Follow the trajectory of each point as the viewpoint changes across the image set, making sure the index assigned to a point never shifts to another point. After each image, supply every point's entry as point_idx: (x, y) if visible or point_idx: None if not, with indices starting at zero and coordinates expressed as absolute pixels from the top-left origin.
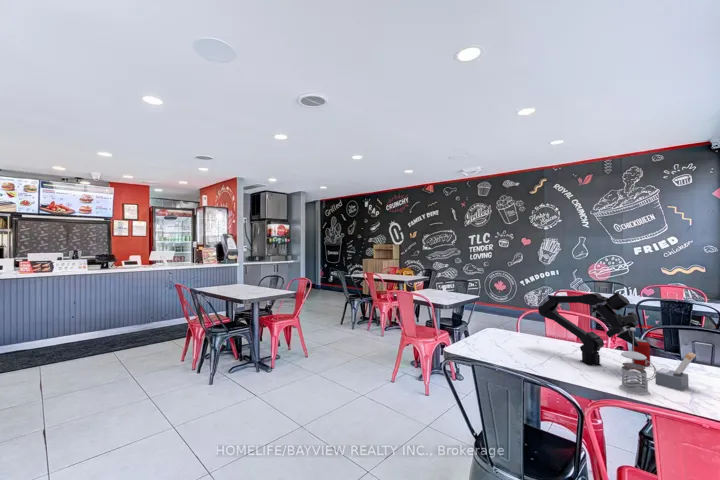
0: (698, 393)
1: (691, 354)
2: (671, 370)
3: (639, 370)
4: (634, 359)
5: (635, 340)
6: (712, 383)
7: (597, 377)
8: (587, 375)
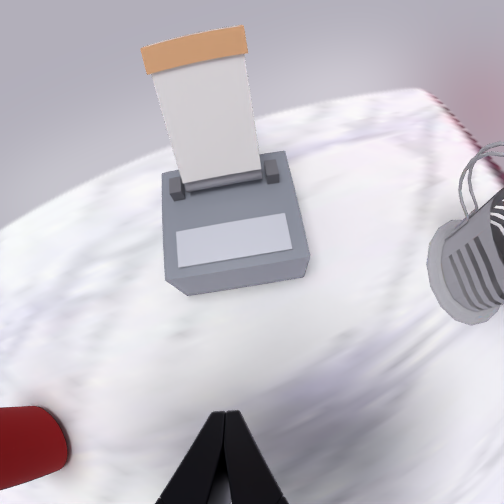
0: None
1: (196, 33)
2: (169, 234)
3: (484, 241)
4: (56, 464)
5: (217, 467)
6: (64, 195)
7: (475, 424)
8: (485, 450)
